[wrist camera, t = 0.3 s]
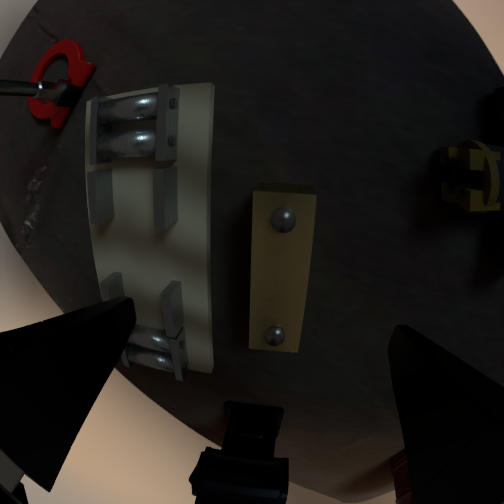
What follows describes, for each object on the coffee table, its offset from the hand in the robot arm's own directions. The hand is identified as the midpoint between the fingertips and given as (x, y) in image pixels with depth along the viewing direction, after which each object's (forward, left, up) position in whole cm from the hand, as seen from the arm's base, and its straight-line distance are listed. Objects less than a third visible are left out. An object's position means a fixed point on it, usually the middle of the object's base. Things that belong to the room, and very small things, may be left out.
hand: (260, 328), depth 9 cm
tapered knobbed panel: (-2, 0, -13) cm, 13 cm away
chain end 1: (+5, +11, -11) cm, 16 cm away
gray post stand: (+14, +22, -13) cm, 28 cm away
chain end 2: (-9, +11, -11) cm, 18 cm away
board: (-3, +11, -12) cm, 16 cm away
